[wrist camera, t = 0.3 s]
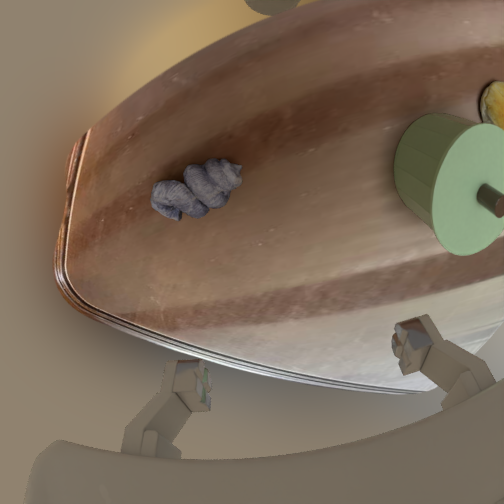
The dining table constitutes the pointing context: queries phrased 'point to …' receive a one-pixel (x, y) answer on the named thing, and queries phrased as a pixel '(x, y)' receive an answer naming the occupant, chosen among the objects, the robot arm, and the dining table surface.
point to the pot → (423, 158)
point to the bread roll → (493, 104)
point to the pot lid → (469, 190)
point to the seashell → (197, 189)
